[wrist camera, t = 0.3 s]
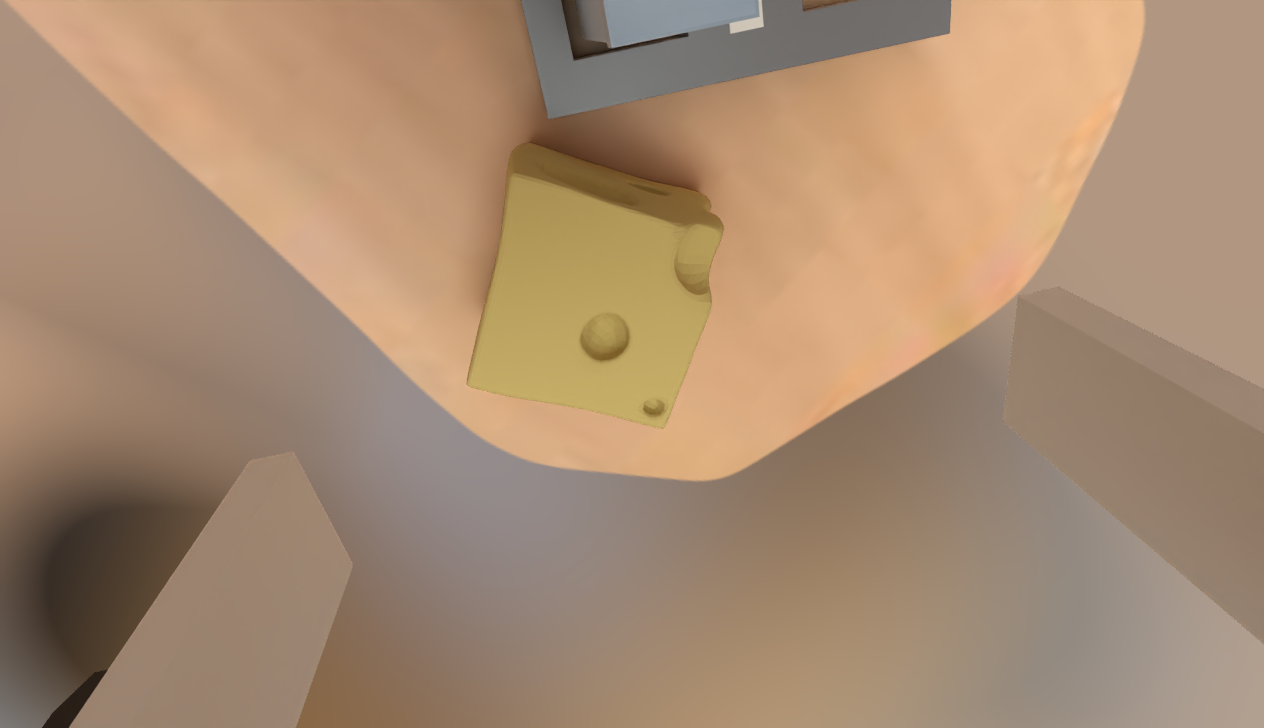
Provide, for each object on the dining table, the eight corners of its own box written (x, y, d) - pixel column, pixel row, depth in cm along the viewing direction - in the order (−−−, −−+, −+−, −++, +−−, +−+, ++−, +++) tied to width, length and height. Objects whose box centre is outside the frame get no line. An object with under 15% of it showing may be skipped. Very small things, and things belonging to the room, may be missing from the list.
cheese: (701, 188, 36) (751, 238, 27) (639, 355, 40) (666, 445, 31) (517, 129, 33) (507, 162, 25) (472, 314, 38) (451, 399, 29)
